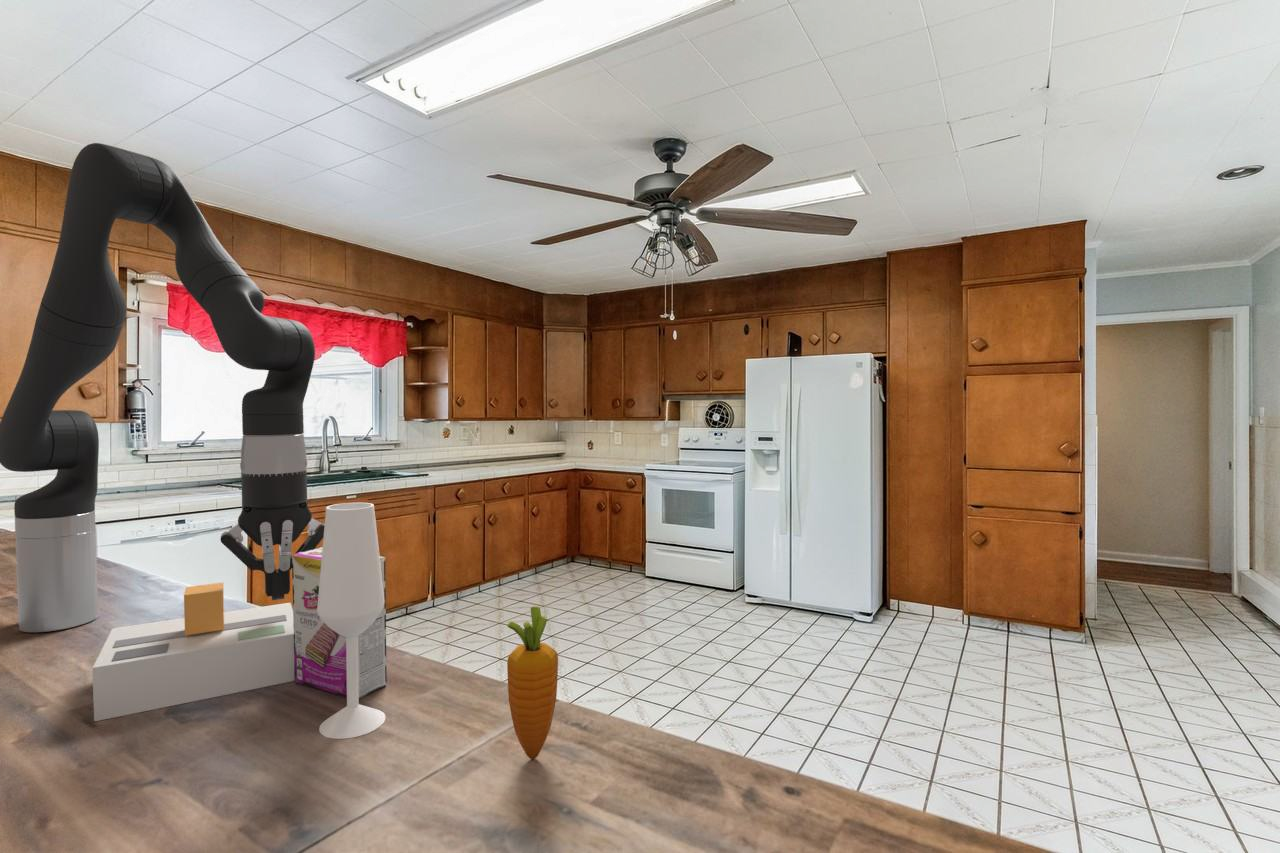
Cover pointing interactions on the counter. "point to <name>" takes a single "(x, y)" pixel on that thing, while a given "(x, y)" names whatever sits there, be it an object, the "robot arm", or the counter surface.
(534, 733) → the carrot
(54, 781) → the counter surface
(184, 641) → the switch box
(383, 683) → the candy bar box
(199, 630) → the block
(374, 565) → the champagne flute
